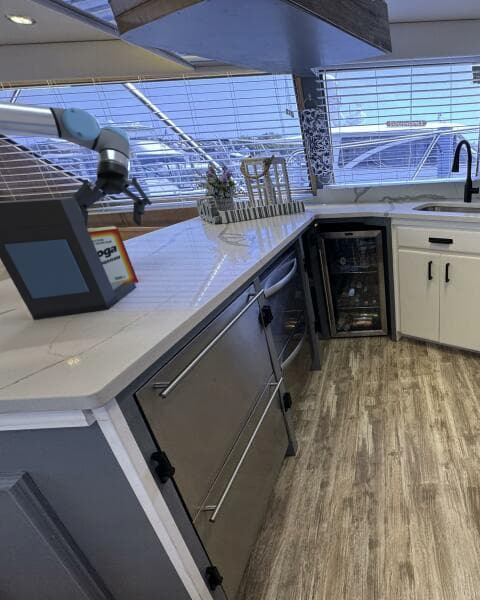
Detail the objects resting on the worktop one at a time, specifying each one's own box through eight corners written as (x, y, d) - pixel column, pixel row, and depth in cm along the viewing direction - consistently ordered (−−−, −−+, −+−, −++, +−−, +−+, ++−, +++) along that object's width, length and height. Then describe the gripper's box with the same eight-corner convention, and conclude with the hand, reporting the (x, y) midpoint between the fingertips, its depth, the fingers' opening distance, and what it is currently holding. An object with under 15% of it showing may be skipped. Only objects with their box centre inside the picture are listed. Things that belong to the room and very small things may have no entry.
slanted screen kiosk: (32, 320, 71) (-32, 204, 61) (74, 294, 86) (28, 197, 76) (107, 310, 75) (58, 199, 65) (136, 287, 90) (99, 193, 80)
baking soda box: (134, 277, 98) (113, 224, 92) (138, 281, 94) (117, 226, 88) (93, 286, 92) (68, 230, 86) (96, 291, 88) (70, 232, 81)
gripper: (164, 176, 109) (164, 227, 101) (73, 180, 102) (67, 236, 95) (153, 158, 102) (152, 212, 95) (55, 161, 95) (47, 220, 88)
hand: (110, 224), depth 95 cm, fingers open, 13 cm apart
